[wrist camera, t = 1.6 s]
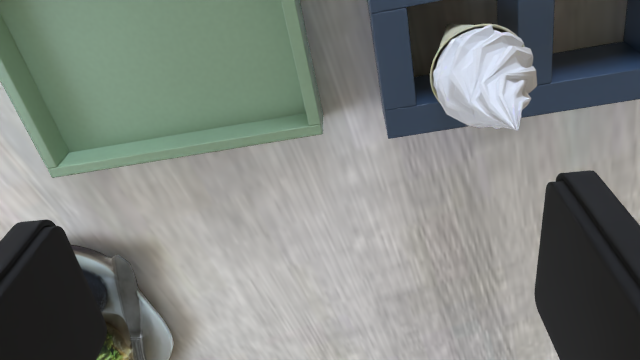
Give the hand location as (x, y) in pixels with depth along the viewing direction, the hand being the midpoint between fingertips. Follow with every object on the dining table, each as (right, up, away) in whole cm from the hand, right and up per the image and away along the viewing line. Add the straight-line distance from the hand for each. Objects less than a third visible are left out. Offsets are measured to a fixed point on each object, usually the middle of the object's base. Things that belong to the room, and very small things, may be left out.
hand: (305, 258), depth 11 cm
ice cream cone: (+9, +12, +24) cm, 28 cm away
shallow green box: (-11, +12, +24) cm, 29 cm away
